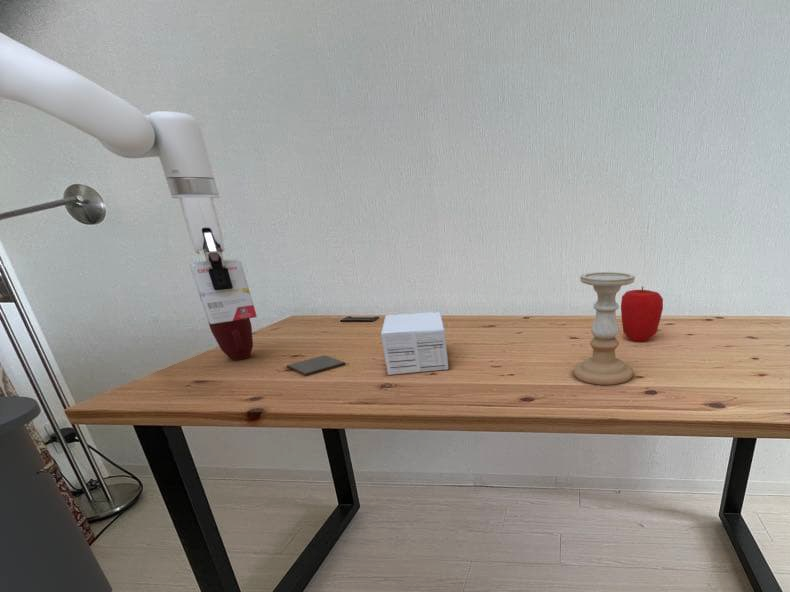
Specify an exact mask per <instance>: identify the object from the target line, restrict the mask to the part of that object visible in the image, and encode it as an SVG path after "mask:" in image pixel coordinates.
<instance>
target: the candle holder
mask: <svg viewBox="0 0 790 592" xmlns="http://www.w3.org/2000/svg"><path fill="white" fill-rule="evenodd" d="M579 280H580V283H582V284H584V285H589V286H592V288H593V290H594V292H595V293H596V295H597V300H596V302H594V304H593V306H592V307H593V309H594V310H595V316H594V319H593V323H592V325H591V329H590V332H591V334H592V336H593V338H592V339H591V340H590V341H589V345H590V347H591V348H592V355H591V357H588V358H585V359H584V360H583V361H580V362H579V363H577V364H576V365H575V366H574V368H573V375H574V377H575V378H576V379H578V380H579V381H582V382H584V383H587V384H591V385H599V386H602V385H603V386H611V385H619V384H624V383H627V382H628V381H630V380H631V379H632V378H633V375H634V370H633V368H632V366H631V365H630V364H628V363H625V362H624V361H623V360H622V359H620V358H617V357H616V349H617V348H618V347H619V345H620V342H619V340H617V338H616V337H617V336H618V335H619V332H620V329H619V324H618V321H617V313H616V312H617V310H618V309H619V308H620V305H619V303H618V302H617V300H616V296H617V293H618V292H619V291H620V290H621V288H622V287H623V286H628V285H631V284H633V283H635V281H636V276H635V275H633V274H631V273H626V272H617V271H615V272H614V271H613V272H612V271H611V272H610V271H600V272H599V271H598V272H587V273H583V274H581V275H580V276H579Z"/></svg>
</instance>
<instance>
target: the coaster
mask: <svg viewBox="0 0 790 592" xmlns="http://www.w3.org/2000/svg"><path fill="white" fill-rule="evenodd" d="M345 365H346V363H345V362H344V361H342V360H339V359H336V358H335V357H331V356H328V355H325V354H324V355H320V356H317V357H312V358H309V359H305V360H301V361H297V362H294V363H293V362H292V363H289V364H286V368H287V369H289V370H291V371H294V372H296V373H299V374H301V375H303V376H306V377H308V376H311V375H314V374H318V373H321V372H325V371H328V370H329V371H330V370H332V369H336V368H339V367H342V366H345Z"/></svg>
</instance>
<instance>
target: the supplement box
mask: <svg viewBox="0 0 790 592" xmlns="http://www.w3.org/2000/svg"><path fill="white" fill-rule="evenodd" d="M380 336H381V345H382V350H383V356H384V361H385V366H386V371H387V372H386V373H387V375H388V376H391V375H402V374H413V373H424V372H435V371H445V370H449V357H448V347H447V338H446V330H445V326H444V322H443V318H442V312H441V311H429V312H428V311H427V312H416V313H399V314H388V315H385V316H384V320H383V325H382V328H381V333H380Z"/></svg>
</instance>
